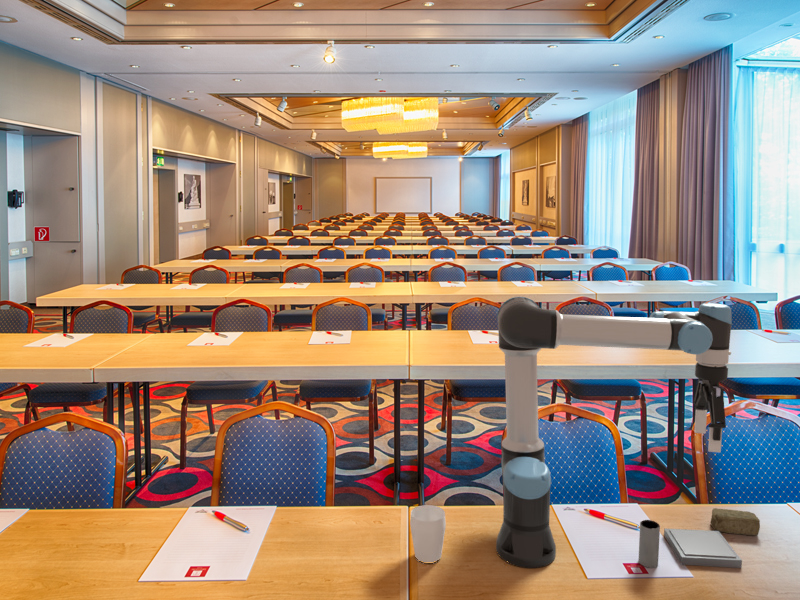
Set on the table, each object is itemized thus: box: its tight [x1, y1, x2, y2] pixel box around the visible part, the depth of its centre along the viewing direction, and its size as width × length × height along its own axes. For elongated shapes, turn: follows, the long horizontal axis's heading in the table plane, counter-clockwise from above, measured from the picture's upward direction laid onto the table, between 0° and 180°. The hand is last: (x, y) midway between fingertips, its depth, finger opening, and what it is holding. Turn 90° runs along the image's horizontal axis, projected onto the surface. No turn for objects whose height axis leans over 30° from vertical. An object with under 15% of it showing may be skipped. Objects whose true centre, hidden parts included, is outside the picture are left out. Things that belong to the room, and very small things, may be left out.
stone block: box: [710, 507, 761, 536], centre depth 164 cm, size 6×12×5 cm, turn 76°
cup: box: [409, 504, 447, 562], centre depth 152 cm, size 9×9×12 cm
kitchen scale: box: [663, 528, 743, 569], centre depth 154 cm, size 14×14×2 cm
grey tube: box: [638, 519, 661, 568], centre depth 148 cm, size 4×4×10 cm
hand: (706, 441), depth 157 cm, fingers open, 13 cm apart
